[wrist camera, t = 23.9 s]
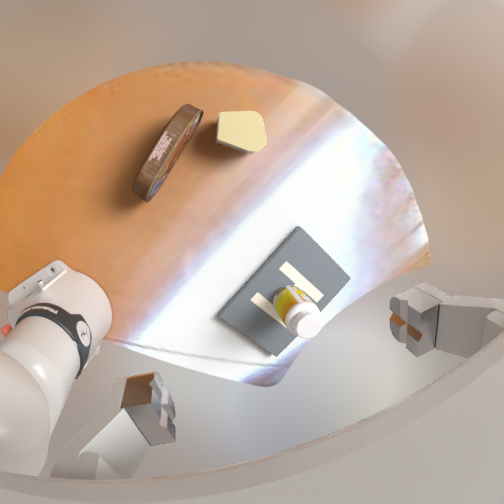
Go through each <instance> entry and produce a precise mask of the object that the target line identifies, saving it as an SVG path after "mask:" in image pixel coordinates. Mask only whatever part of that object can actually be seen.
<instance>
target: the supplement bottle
mask: <svg viewBox="0 0 504 504" xmlns="http://www.w3.org/2000/svg"><path fill="white" fill-rule="evenodd" d="M273 306H274V308H275V310H276V312H277V313H278V315H279V316H280V318H281V320H282V321H283V323H284V324H285V326H286V327H287V329H288V330H289V331H290V332H291V333H292V334H294V335H298V336H300V337H301V338H305V339H307V338H311V337H314V336H315V335H316V334H317V333H318V332H319V331H320V329H321V325H322V322H321V319H320V311H319V309H318V307H317V306H316V305H315V304H314V303H313V302H312V301H311V300H310V299H309V298H308V297H307V296H306V294H305V293H304V292H303V291H302V290H301V289H300V288H298V287H296V286H293V285H288V286H284V287H282V288H281V289H279V290H278V291H277V292H276V294H275V296H274V299H273Z"/></svg>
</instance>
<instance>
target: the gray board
mask: <svg viewBox="0 0 504 504" xmlns="http://www.w3.org/2000/svg"><path fill="white" fill-rule="evenodd" d="M350 279H351V278H350V277H349V276H348V275H347V274H346V273H345V272H344V271H343V270H342V269H341V268H340V266H339V265H338V264H337V263H336V262H335V261H334V260H333V259H332V258H331V257H330V256H329V255H328V254H327V253H326V252H325V251H324V250H323V249H322V248H321V247H320V246H319V245H318V244H317V243H316V242H315V241H314V240H313V239H312V238H311V237H310V236H309V235H308V234H307V233H306V232H305V231H304V230H303V229H302V228H301V227H299V226H298V227H297V228H296V229H295V230H294V231H293V232H292V233H291V234H290V235H289V237H288V238H287V239H286V240H285V241H284V242H283V243H282V244H281V245H280V247H279V248H278V249H277V250H276V251H275V252H274V253H273V254H272V255H271V256H270V258H269V259H268V260H267V261H266V262H265V263H264V264H263V265H262V266H261V267H260V269H259V270H258V271H257V272H256V273H255V274H254V275H253V276H252V277H251V278H250V279H249V281H248V282H247V283H246V284H245V285H244V286H243V287H242V288H241V289H240V290H239V291H238V292H237V294H236V295H235V296H234V297H233V298H232V299H231V300H230V301H229V302H228V303H227V304H226V305H225V307H224V308H223V309H222V310H221V311H220V312H219V317H220V318H221V319H223V320H224V321H226V322H227V323H228V324H230V325H231V326H233V327H234V328H235V329H237V330H238V331H240V332H241V333H242V334H244V335H245V336H247V337H248V338H250V339H251V340H252V341H254V342H255V343H257V344H258V345H260V346H261V347H263V348H264V349H266V350H267V351H269V352H270V353H271V354H273V355H274V356H276V357H277V356H278V355H279V354H280V353H281V352H282V351H283V350H284V349H285V348H286V347H287V346H288V345H289V344H290V343H291V342H292V341H293V340H294V339H295V338H296V337H297V336H298V335H294V334H292V333H291V332H290V331H289V330H288V329H287V327H286V326H285V324H284V323H283V321H282V320H281V318H280V316H279V315H278V313H277V312H276V310H275V308H274V306H273V299H274V296H275V294H276V292H277V291H278V290H279V289H281V288H282V287H284V286H288V285H293V286H296V287H298V288H300V289H301V290H302V291H303V292H304V293H305V294H306V296H307V297H308V298H309V299H310V300H311V301H312V302H313V303H314V304H315V305H316V306H317V307H318V309H319V311H320V312H321V311H322V310H323V309H324V308H325V307H326V305H327V304H328V303H329V302H330V301H331V300H332V299H333V298H334V297H335V296H336V295H337V293H338V292H339V291H340V290H341V289H342V288H343V287H344V286H345V284H346V283H347V282H348V281H349V280H350Z"/></svg>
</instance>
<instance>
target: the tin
mask: <svg viewBox="0 0 504 504" xmlns="http://www.w3.org/2000/svg"><path fill="white" fill-rule="evenodd" d="M202 116H203V110H200V109H198V108H196V107H194V106H192V105H190V104H185V105H184V106H182V107H181V108H180V109H179V110H178V111H177V112H176V113H175V114H174V116H173V117H172V118H171V120H170V121H169V123H168V124H167V126H166V127H165V129H164V130H163V132H162V133H161V135H160V136H159V138H158V139H157V141H156V143H155V144H154V146H153V148H152V149H151V151H150V153H149V154H148V156H147V158H146V159H145V161H144V163H143V165H142V166H141V168H140V170H139V172H138V174H137V176H136V179H135V181H134V184H133V193H134V194H135V195H136V196H138V197H139V198H141V199H143V200H144V201H145V202H149V201H150V200H151V199H152V198H153V197H154V195H155V194H156V193H157V192H158V190H159V189H160V187H161V186H162V184H163V182H164V181H165V179H166V178H167V176H168V174H169V172H170V171H171V169H172V167H173V166H174V164H175V162H176V161H177V159H178V158H179V156H180V154H181V153H182V151H183V150H184V148H185V147H186V145H187V143H188V142H189V140H190V139H191V137H192V135H193V134H194V132H195V130H196V129H197V127H198V125H199V123H200V121H201V119H202Z"/></svg>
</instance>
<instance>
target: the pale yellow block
mask: <svg viewBox="0 0 504 504" xmlns="http://www.w3.org/2000/svg"><path fill="white" fill-rule="evenodd" d="M216 142H217V143H220V144H223V145H225V146H228V147H231V148H233V149H236V150H239V151H241V152H244V153H256V152H259V151H260V150H261V149H262V148H263V147H264V146H265V145H266V144H267V138H266V133H265V128H264V123H263V119H262V117H261V115H260V114H259V113H257V112H255V111H236V112H220V114H219V117H218V118H217V130H216Z"/></svg>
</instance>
